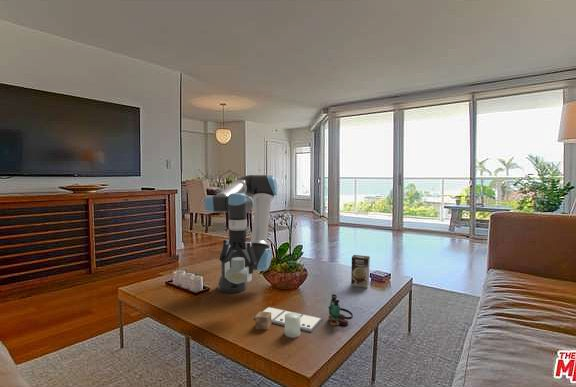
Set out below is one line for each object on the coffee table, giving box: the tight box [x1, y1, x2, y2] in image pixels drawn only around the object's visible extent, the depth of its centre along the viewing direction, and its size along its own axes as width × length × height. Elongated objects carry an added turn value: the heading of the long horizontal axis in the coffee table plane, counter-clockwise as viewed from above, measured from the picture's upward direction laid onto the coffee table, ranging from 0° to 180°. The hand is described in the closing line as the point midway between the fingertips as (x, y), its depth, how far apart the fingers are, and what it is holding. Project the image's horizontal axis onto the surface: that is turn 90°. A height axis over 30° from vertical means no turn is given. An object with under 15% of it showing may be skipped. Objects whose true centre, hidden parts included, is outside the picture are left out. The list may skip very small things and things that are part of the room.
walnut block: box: [255, 310, 272, 331], centre depth 129 cm, size 5×5×5 cm
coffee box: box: [350, 254, 371, 289], centre depth 177 cm, size 9×6×16 cm
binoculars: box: [327, 293, 354, 327], centre depth 133 cm, size 9×11×10 cm
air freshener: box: [225, 257, 247, 284], centre depth 140 cm, size 11×8×10 cm
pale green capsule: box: [284, 312, 301, 339], centre depth 123 cm, size 6×6×7 cm
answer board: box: [253, 306, 323, 333], centre depth 135 cm, size 26×12×1 cm, turn 63°
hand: (238, 278), depth 140 cm, fingers closed on air freshener, 11 cm apart
